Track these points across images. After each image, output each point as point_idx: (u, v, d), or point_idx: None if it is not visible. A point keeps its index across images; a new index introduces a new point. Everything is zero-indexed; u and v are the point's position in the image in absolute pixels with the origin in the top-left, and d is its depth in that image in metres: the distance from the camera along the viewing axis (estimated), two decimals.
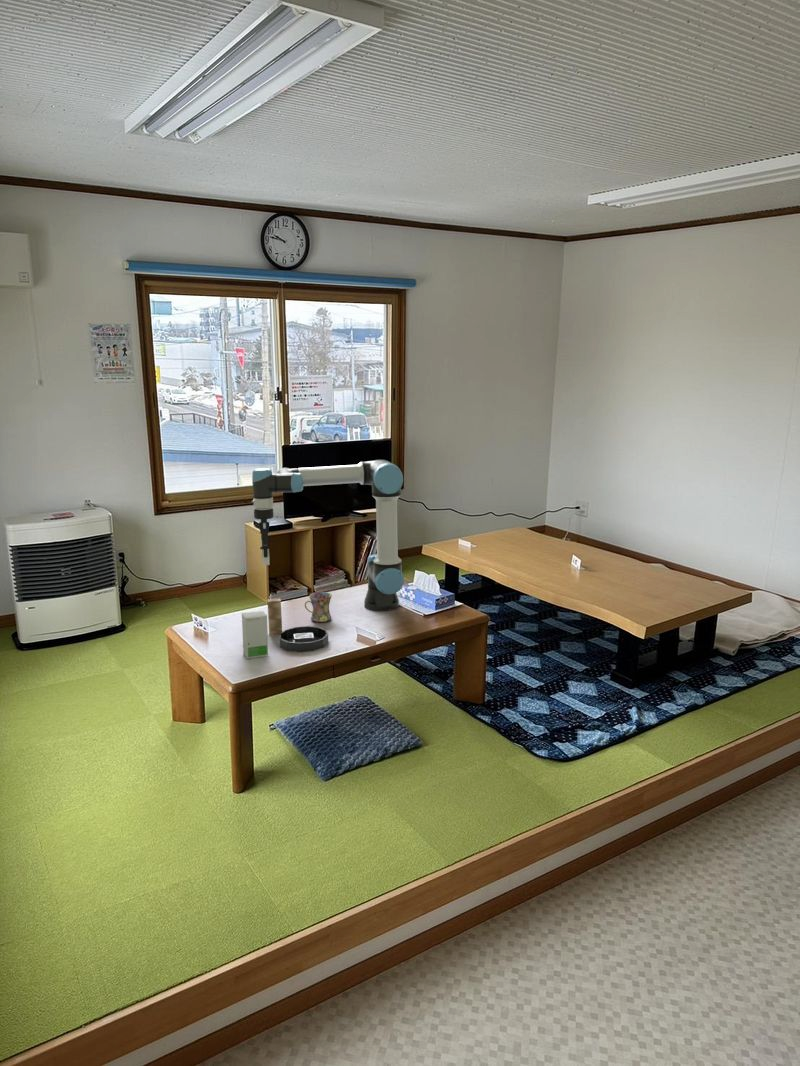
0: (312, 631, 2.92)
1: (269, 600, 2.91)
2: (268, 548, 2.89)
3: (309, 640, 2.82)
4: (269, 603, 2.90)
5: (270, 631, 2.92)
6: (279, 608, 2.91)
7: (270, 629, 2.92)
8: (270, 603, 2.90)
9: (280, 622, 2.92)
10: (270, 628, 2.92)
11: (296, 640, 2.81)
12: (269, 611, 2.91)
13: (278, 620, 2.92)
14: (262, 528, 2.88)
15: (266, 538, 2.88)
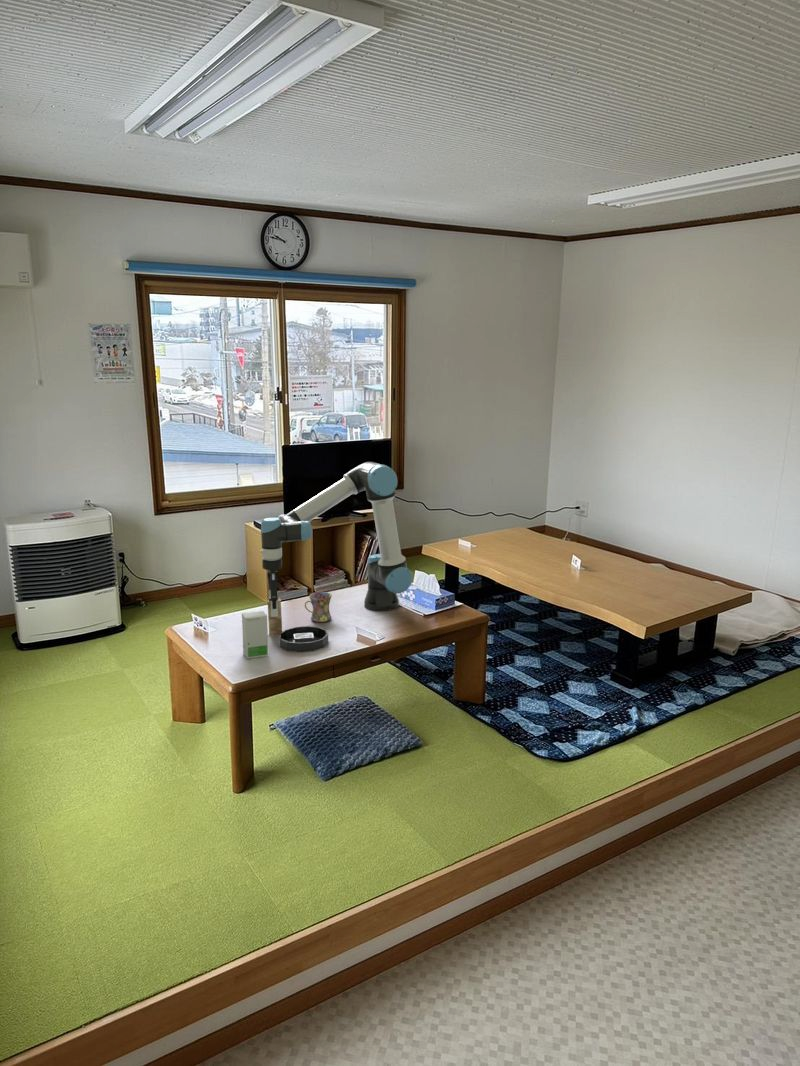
0: (312, 631, 2.92)
1: None
2: (277, 600, 2.83)
3: (309, 640, 2.82)
4: (269, 603, 2.90)
5: (270, 631, 2.92)
6: (279, 608, 2.91)
7: (270, 629, 2.92)
8: (270, 603, 2.90)
9: (280, 622, 2.92)
10: (270, 628, 2.92)
11: (296, 640, 2.81)
12: (269, 611, 2.91)
13: (278, 620, 2.92)
14: (271, 579, 2.82)
15: (275, 590, 2.82)
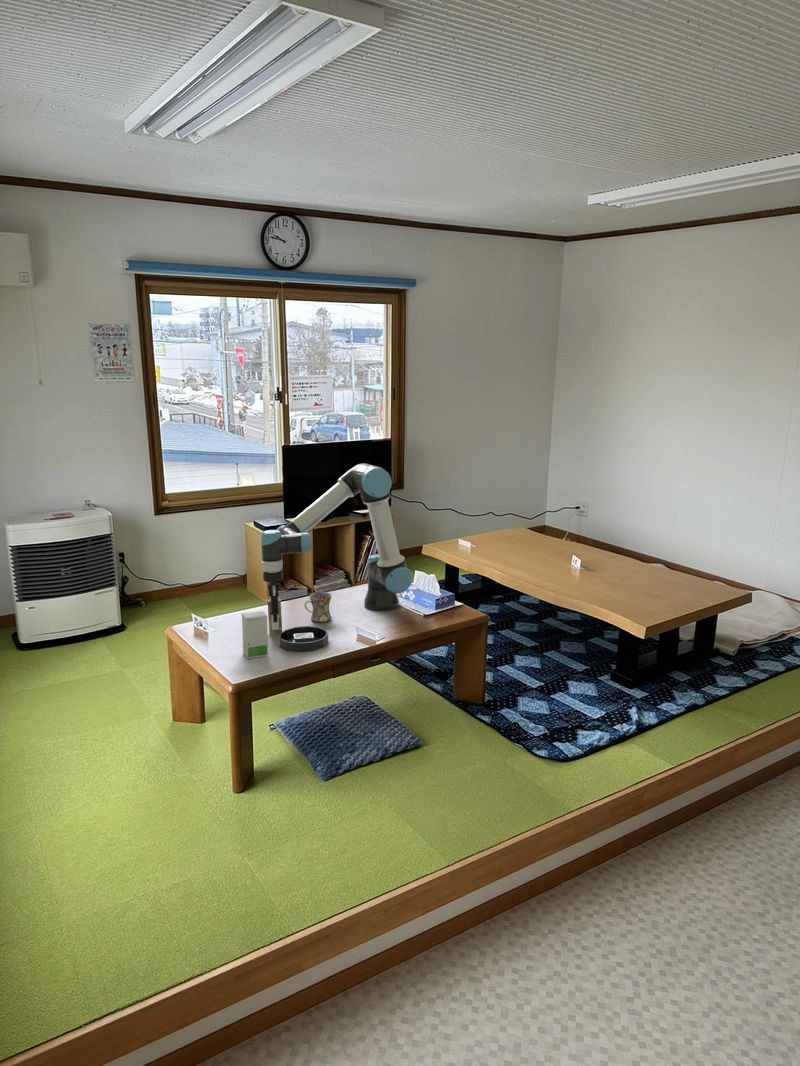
0: (312, 631, 2.92)
1: (269, 600, 2.91)
2: (278, 614, 2.90)
3: (309, 640, 2.82)
4: (269, 603, 2.90)
5: (270, 631, 2.92)
6: (279, 608, 2.91)
7: (270, 629, 2.92)
8: (270, 603, 2.90)
9: (280, 622, 2.92)
10: (270, 628, 2.92)
11: (296, 640, 2.81)
12: (269, 611, 2.91)
13: None
14: (272, 596, 2.85)
15: (276, 605, 2.87)
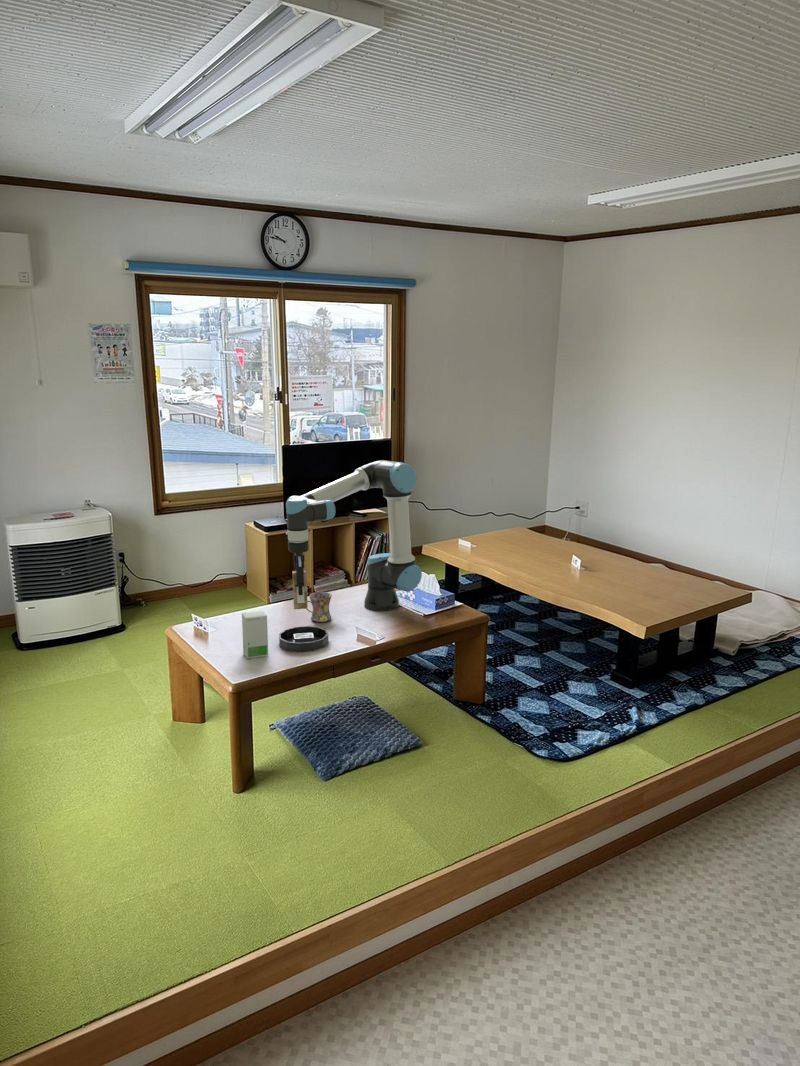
0: (312, 631, 2.92)
1: (294, 572, 2.79)
2: (303, 586, 2.77)
3: (309, 640, 2.82)
4: (294, 575, 2.77)
5: (295, 604, 2.80)
6: (304, 580, 2.79)
7: (295, 602, 2.80)
8: (295, 574, 2.77)
9: (305, 595, 2.80)
10: (295, 601, 2.80)
11: (296, 640, 2.81)
12: (294, 583, 2.78)
13: None
14: (297, 567, 2.72)
15: (301, 577, 2.74)
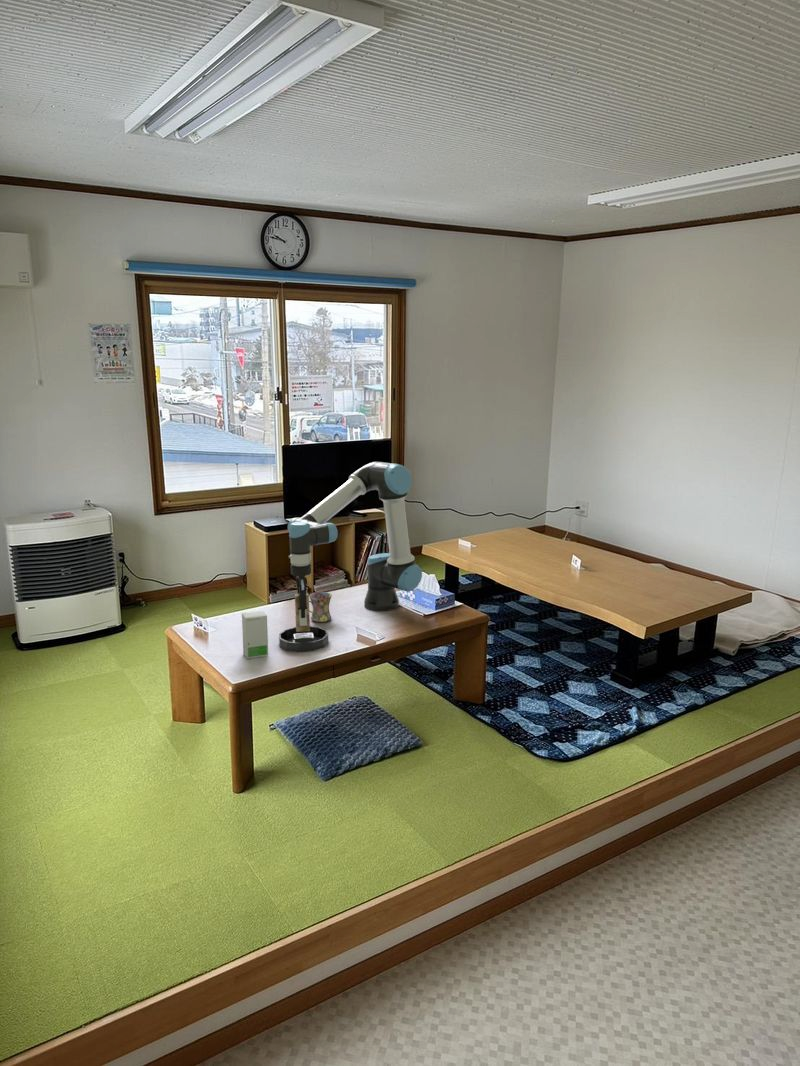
0: (312, 631, 2.92)
1: (297, 595, 2.80)
2: None
3: (309, 640, 2.82)
4: (297, 598, 2.79)
5: (297, 627, 2.81)
6: (307, 603, 2.80)
7: (297, 625, 2.81)
8: (298, 597, 2.79)
9: (308, 618, 2.81)
10: (297, 624, 2.81)
11: (296, 640, 2.81)
12: (297, 606, 2.79)
13: None
14: (300, 590, 2.74)
15: (304, 600, 2.75)
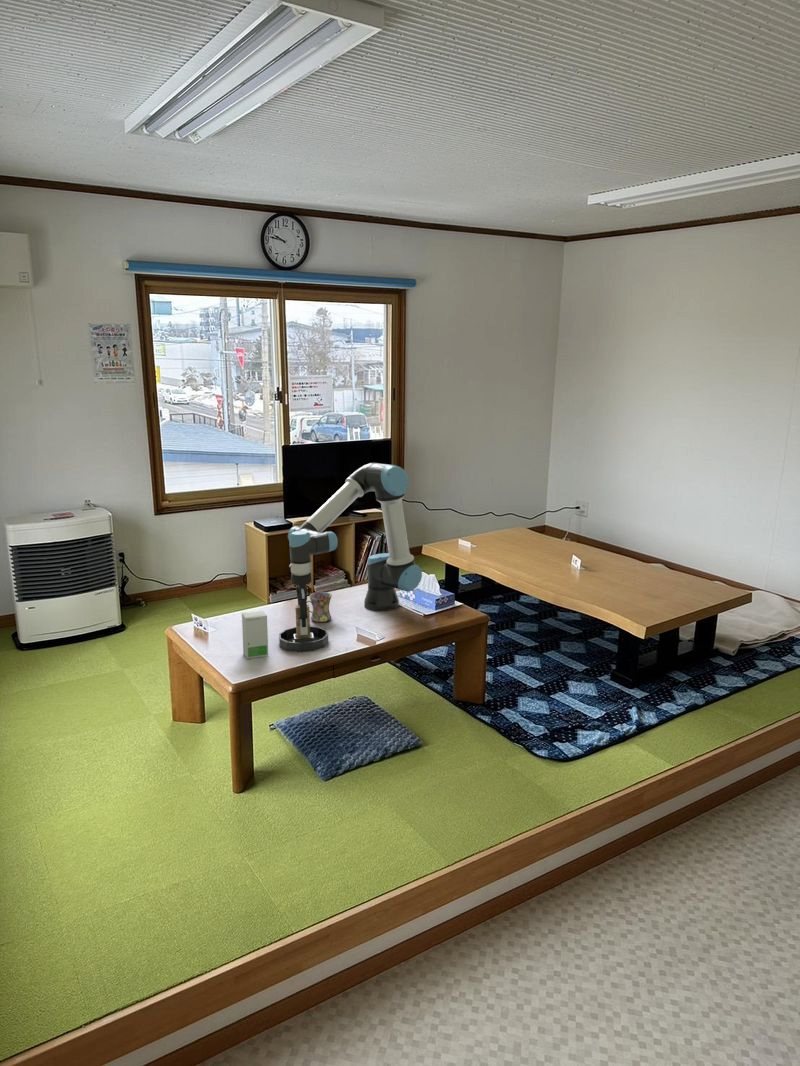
0: (312, 631, 2.92)
1: (297, 606, 2.81)
2: (306, 618, 2.78)
3: (309, 640, 2.82)
4: (297, 609, 2.80)
5: None
6: (307, 615, 2.81)
7: (298, 636, 2.82)
8: (298, 609, 2.80)
9: (308, 629, 2.82)
10: (298, 635, 2.82)
11: (296, 640, 2.81)
12: (297, 618, 2.80)
13: None
14: (301, 598, 2.74)
15: (305, 609, 2.75)
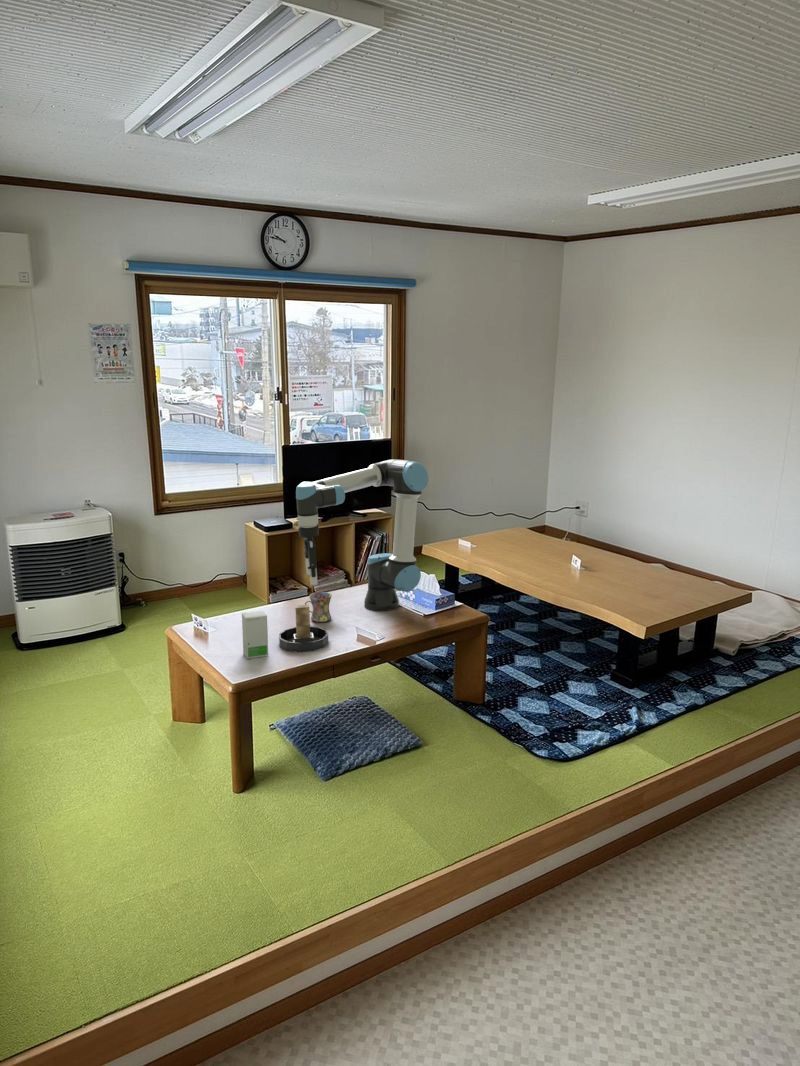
0: (312, 631, 2.92)
1: (297, 606, 2.81)
2: (316, 567, 2.77)
3: (309, 640, 2.82)
4: (297, 609, 2.80)
5: None
6: (307, 615, 2.81)
7: (298, 636, 2.82)
8: (298, 609, 2.80)
9: (308, 629, 2.82)
10: (298, 635, 2.82)
11: (296, 640, 2.81)
12: (297, 618, 2.81)
13: (306, 627, 2.82)
14: (309, 547, 2.76)
15: (314, 557, 2.75)
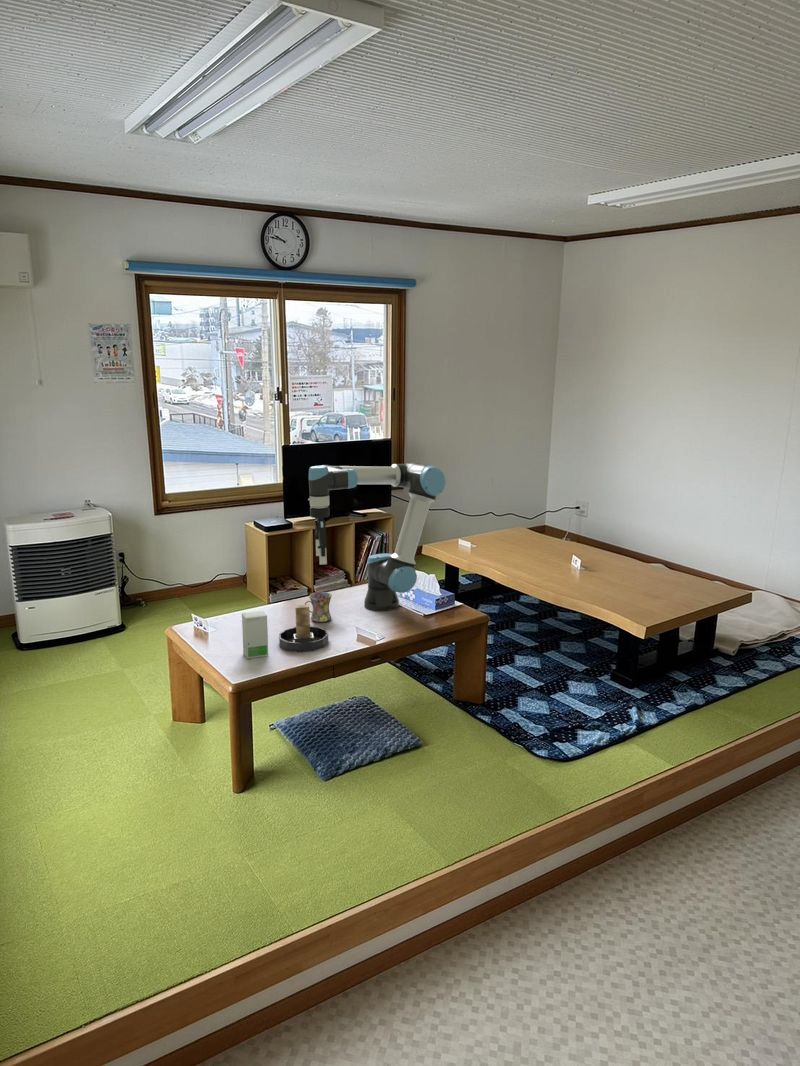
0: (312, 631, 2.92)
1: (297, 606, 2.81)
2: None
3: (309, 640, 2.82)
4: (297, 609, 2.80)
5: None
6: (307, 615, 2.81)
7: (298, 636, 2.82)
8: (298, 609, 2.80)
9: (308, 629, 2.82)
10: (298, 635, 2.82)
11: (296, 640, 2.81)
12: (297, 618, 2.81)
13: (306, 627, 2.82)
14: (320, 527, 2.83)
15: (324, 537, 2.82)
